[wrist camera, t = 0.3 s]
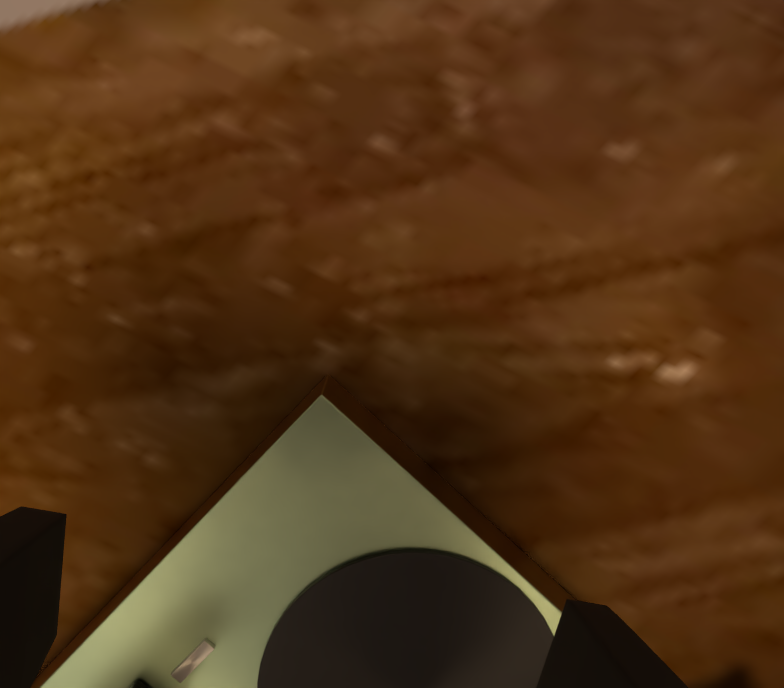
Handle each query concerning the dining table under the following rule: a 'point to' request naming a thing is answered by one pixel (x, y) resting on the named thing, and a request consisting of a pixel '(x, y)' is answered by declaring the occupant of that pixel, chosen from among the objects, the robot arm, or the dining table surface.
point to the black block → (138, 685)
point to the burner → (408, 628)
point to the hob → (282, 552)
